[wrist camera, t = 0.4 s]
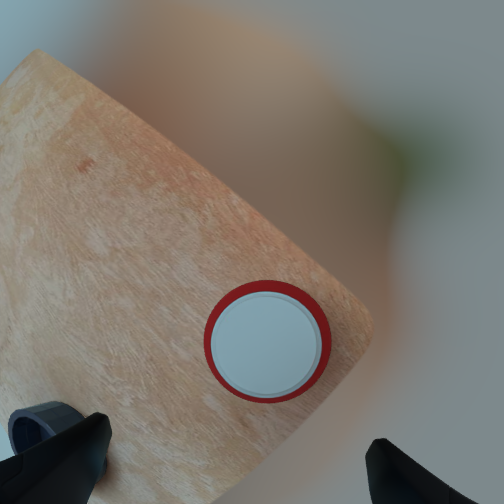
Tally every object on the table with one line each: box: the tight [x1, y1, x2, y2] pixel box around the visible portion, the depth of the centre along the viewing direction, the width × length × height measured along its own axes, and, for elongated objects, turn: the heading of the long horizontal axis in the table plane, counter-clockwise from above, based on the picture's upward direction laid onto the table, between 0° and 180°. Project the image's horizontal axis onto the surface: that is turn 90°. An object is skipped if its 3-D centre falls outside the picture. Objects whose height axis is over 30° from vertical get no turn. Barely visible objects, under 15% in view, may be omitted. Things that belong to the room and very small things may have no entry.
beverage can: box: [204, 280, 331, 403], centre depth 18 cm, size 6×6×12 cm
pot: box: [8, 401, 107, 484], centre depth 19 cm, size 11×11×6 cm
